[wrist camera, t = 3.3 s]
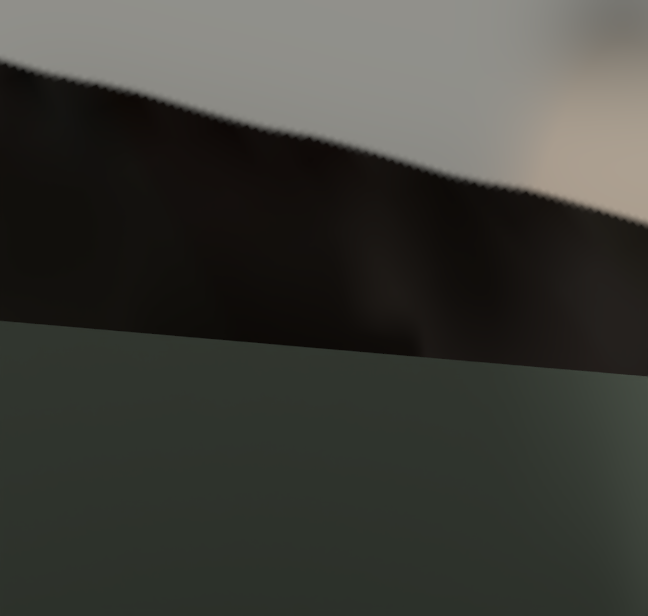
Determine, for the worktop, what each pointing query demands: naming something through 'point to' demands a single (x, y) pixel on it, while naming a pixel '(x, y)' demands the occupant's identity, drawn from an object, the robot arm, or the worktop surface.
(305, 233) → the worktop surface
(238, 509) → the panel
